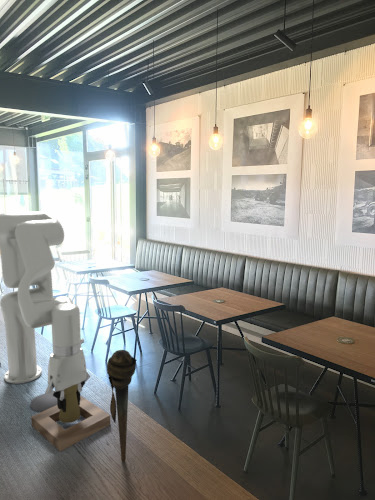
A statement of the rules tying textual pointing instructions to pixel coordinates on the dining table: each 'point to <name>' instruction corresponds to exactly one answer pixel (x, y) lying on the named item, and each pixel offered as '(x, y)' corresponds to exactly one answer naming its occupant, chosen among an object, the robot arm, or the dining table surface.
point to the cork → (70, 405)
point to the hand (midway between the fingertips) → (69, 406)
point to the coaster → (43, 402)
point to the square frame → (75, 433)
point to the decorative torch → (120, 391)
